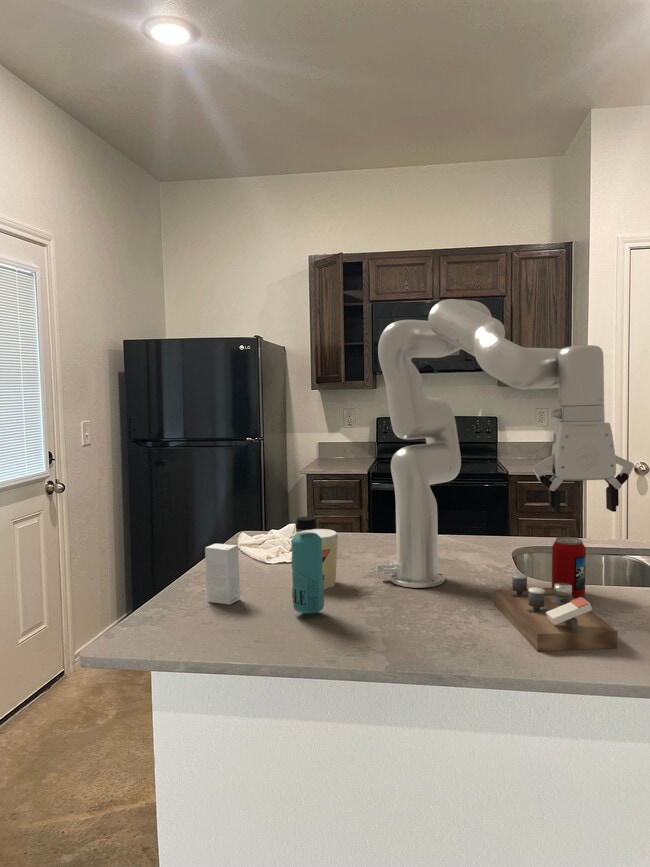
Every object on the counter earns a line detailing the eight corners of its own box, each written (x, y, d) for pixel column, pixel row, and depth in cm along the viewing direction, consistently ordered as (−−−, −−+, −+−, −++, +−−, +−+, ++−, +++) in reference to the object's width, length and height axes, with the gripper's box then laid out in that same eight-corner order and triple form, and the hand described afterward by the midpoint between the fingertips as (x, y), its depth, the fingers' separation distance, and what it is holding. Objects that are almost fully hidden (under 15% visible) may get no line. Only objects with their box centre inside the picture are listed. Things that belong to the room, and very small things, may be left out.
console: (537, 651, 114) (537, 624, 113) (493, 604, 138) (493, 581, 137) (617, 647, 114) (617, 620, 114) (560, 601, 138) (560, 578, 138)
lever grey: (515, 596, 132) (515, 578, 132) (510, 591, 135) (510, 573, 135) (529, 595, 132) (529, 577, 132) (524, 591, 135) (524, 573, 135)
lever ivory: (531, 611, 123) (531, 592, 123) (526, 606, 126) (526, 587, 126) (547, 611, 123) (547, 591, 123) (541, 606, 126) (541, 587, 126)
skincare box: (240, 599, 144) (239, 545, 143) (230, 605, 140) (228, 549, 139) (217, 596, 147) (215, 542, 146) (206, 602, 143) (204, 547, 142)
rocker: (555, 624, 115) (552, 617, 115) (547, 618, 118) (545, 611, 118) (592, 609, 115) (589, 602, 115) (584, 603, 118) (581, 596, 118)
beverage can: (587, 600, 138) (588, 544, 137) (554, 599, 140) (554, 543, 139) (582, 590, 145) (582, 536, 144) (549, 589, 146) (550, 535, 145)
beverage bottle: (329, 611, 135) (327, 514, 134) (318, 622, 129) (316, 521, 128) (299, 608, 138) (297, 513, 136) (287, 619, 131) (284, 519, 130)
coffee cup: (291, 588, 151) (290, 536, 150) (308, 576, 160) (307, 527, 159) (330, 592, 147) (328, 539, 146) (344, 580, 156) (343, 530, 155)
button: (558, 598, 128) (558, 587, 127) (551, 592, 131) (551, 582, 131) (574, 597, 128) (574, 587, 128) (567, 592, 131) (567, 582, 131)
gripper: (536, 418, 115) (538, 516, 116) (640, 414, 113) (641, 513, 114) (527, 416, 122) (529, 508, 123) (624, 413, 121) (625, 506, 122)
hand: (583, 511), depth 119 cm, fingers open, 9 cm apart
